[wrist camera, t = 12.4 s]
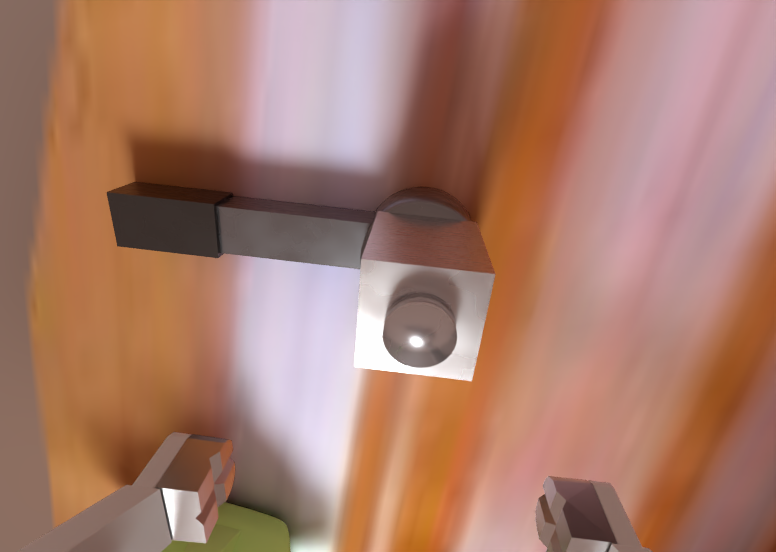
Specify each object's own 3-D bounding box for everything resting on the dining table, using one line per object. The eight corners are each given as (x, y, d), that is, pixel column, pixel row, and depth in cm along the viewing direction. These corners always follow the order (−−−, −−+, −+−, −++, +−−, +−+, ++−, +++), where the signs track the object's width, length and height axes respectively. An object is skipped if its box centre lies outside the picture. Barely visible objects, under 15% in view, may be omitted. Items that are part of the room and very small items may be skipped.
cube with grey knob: (476, 222, 21) (499, 286, 15) (460, 308, 23) (474, 397, 17) (377, 211, 21) (357, 270, 15) (371, 297, 24) (350, 382, 17)
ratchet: (483, 193, 24) (506, 239, 17) (464, 292, 27) (477, 365, 20) (130, 154, 25) (18, 184, 18) (147, 254, 27) (56, 313, 21)
